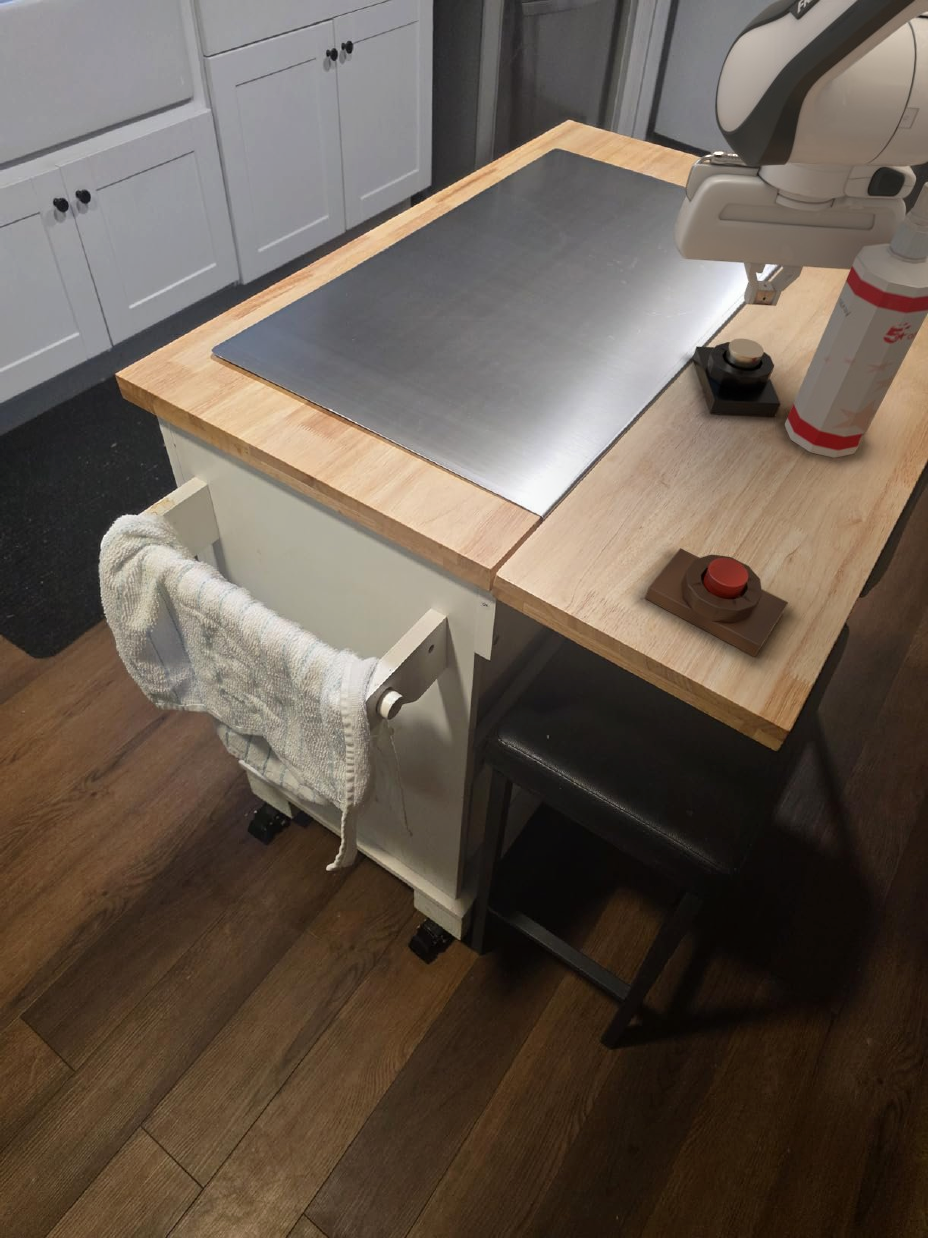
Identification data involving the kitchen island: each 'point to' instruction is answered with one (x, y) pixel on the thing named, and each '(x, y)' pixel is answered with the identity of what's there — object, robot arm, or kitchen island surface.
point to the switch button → (744, 354)
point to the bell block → (716, 602)
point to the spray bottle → (864, 340)
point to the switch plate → (735, 384)
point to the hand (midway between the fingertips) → (759, 302)
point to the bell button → (725, 578)
